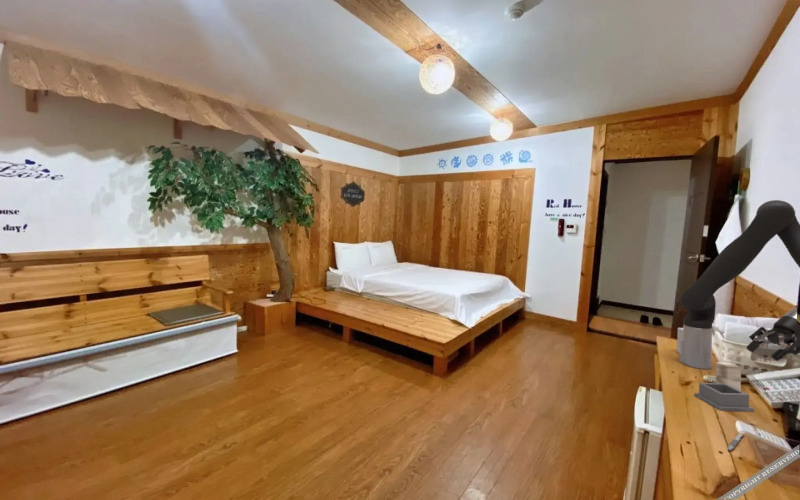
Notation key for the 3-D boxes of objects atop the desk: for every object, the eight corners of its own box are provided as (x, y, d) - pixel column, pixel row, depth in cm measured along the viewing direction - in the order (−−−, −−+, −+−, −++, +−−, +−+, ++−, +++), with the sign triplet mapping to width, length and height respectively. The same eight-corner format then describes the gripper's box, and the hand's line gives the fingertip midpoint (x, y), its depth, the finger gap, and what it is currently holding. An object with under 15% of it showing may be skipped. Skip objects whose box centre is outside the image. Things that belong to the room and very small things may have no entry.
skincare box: (681, 355, 154) (681, 329, 153) (676, 351, 158) (676, 327, 157) (697, 356, 152) (697, 330, 151) (691, 353, 156) (692, 328, 156)
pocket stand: (694, 395, 114) (694, 381, 114) (725, 396, 113) (725, 382, 113) (720, 410, 104) (720, 395, 104) (753, 411, 103) (754, 396, 103)
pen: (745, 435, 91) (745, 431, 91) (731, 454, 84) (731, 448, 84) (740, 434, 92) (740, 429, 92) (726, 452, 85) (726, 446, 85)
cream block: (716, 388, 119) (716, 362, 119) (728, 389, 119) (729, 362, 118) (727, 394, 115) (727, 366, 114) (740, 395, 114) (741, 367, 114)
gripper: (767, 310, 121) (734, 340, 123) (813, 320, 107) (774, 354, 108) (782, 325, 121) (748, 354, 122) (830, 336, 107) (791, 369, 108)
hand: (760, 354), depth 115 cm, fingers open, 8 cm apart
